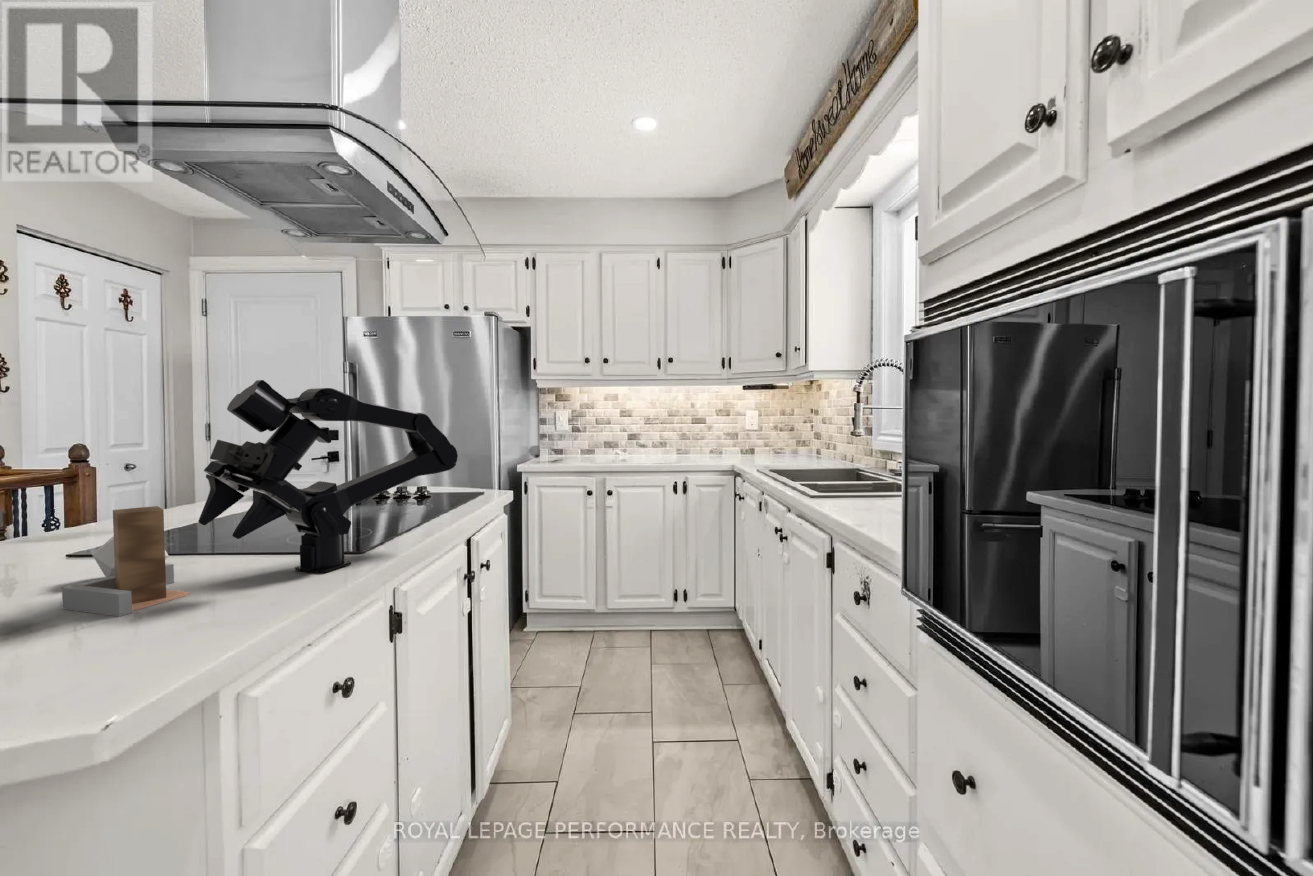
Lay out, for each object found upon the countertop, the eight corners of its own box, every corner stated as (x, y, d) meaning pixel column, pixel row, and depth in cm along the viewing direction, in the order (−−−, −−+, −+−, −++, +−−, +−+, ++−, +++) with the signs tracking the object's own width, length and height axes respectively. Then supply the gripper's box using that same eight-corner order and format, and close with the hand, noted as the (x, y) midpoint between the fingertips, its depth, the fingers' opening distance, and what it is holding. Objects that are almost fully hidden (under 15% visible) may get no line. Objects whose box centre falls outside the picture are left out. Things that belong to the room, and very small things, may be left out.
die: (114, 592, 92) (161, 538, 96) (66, 565, 92) (115, 512, 96) (147, 596, 100) (189, 546, 103) (102, 571, 100) (146, 521, 103)
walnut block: (160, 590, 90) (157, 506, 90) (166, 597, 87) (163, 509, 86) (115, 598, 86) (112, 510, 86) (120, 606, 83) (117, 514, 82)
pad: (150, 590, 91) (150, 588, 91) (189, 594, 89) (189, 592, 89) (89, 606, 84) (88, 604, 84) (130, 611, 82) (130, 609, 82)
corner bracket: (167, 581, 96) (166, 563, 96) (219, 587, 93) (218, 568, 93) (62, 608, 83) (61, 587, 83) (119, 616, 80) (118, 594, 80)
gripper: (212, 411, 97) (137, 492, 90) (283, 429, 89) (207, 519, 82) (265, 450, 105) (201, 526, 98) (334, 469, 98) (269, 554, 90)
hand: (217, 530), depth 92 cm, fingers open, 9 cm apart
